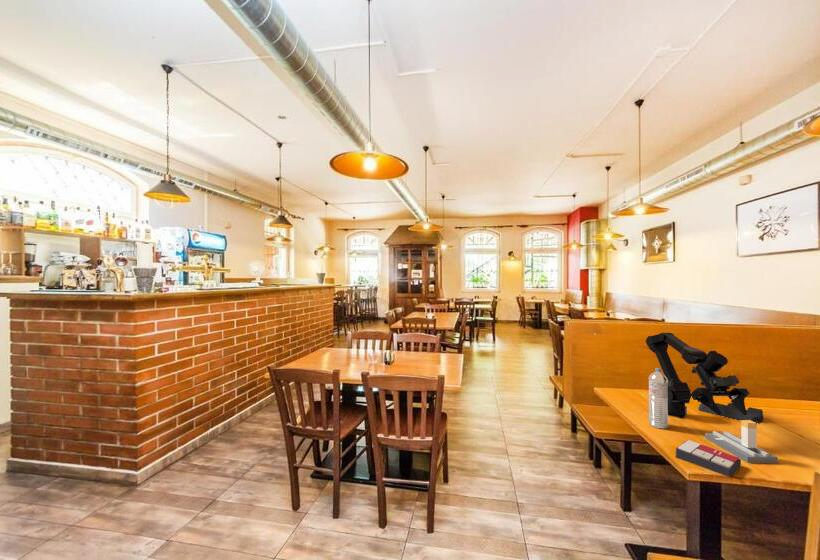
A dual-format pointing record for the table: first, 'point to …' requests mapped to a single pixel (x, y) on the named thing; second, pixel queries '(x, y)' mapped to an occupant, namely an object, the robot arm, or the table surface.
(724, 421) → the table surface
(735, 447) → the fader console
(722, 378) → the robot arm
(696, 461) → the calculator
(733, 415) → the dark slate chunk
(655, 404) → the water bottle
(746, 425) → the fader tab
